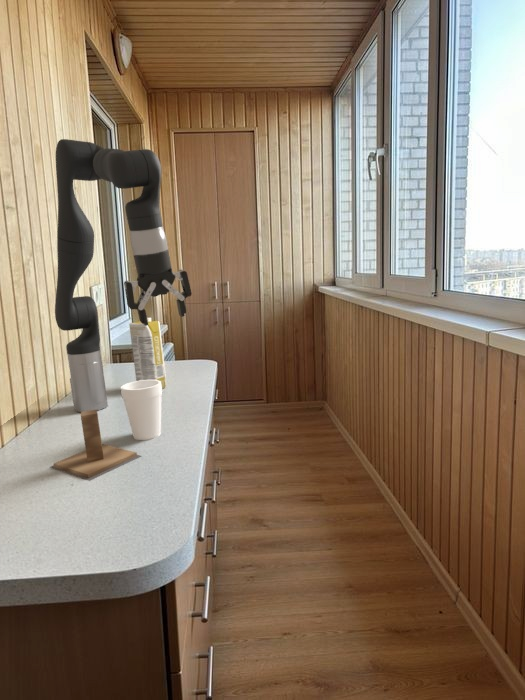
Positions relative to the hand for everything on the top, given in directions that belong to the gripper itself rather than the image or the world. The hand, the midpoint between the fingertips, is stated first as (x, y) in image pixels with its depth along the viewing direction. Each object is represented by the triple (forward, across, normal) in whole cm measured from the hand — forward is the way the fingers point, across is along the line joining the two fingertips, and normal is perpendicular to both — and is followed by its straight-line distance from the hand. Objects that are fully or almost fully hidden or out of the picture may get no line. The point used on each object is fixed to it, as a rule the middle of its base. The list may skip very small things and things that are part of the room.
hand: (164, 320), depth 111 cm
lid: (+24, +22, +10) cm, 34 cm away
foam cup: (+27, +10, +1) cm, 29 cm away
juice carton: (+36, -2, -45) cm, 58 cm away
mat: (+24, +22, +10) cm, 34 cm away
